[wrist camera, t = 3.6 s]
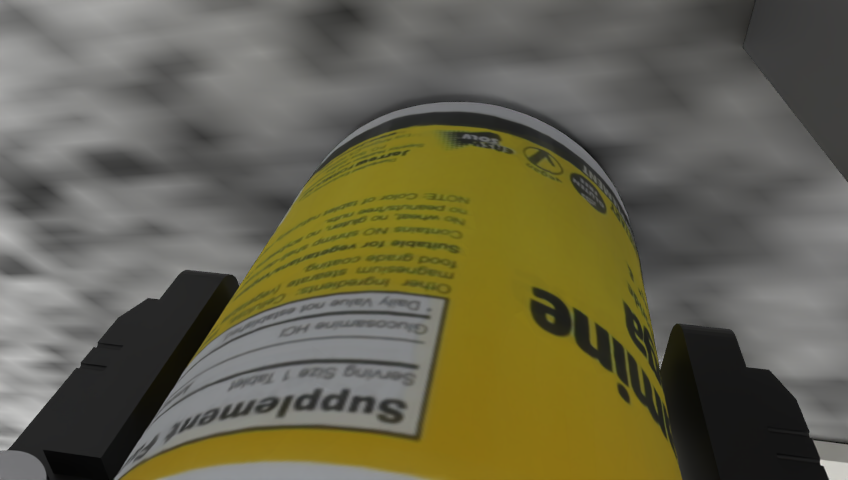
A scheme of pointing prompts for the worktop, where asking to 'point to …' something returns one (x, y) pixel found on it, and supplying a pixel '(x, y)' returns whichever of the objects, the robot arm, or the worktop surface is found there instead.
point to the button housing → (807, 65)
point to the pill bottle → (431, 322)
